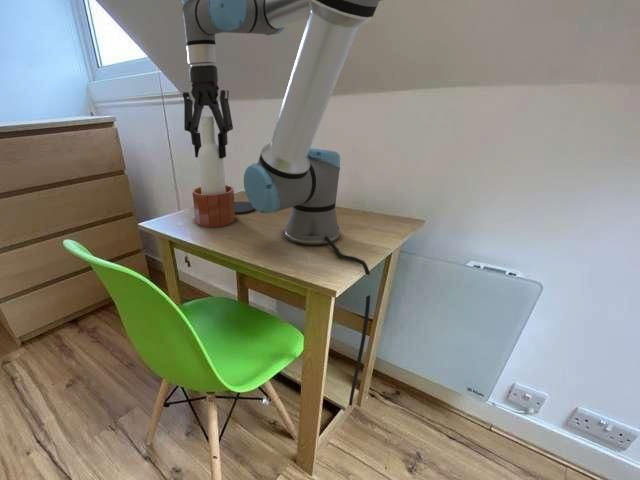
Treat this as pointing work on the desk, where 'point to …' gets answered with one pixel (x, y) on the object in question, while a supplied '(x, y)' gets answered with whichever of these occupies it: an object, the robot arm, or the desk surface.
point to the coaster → (243, 207)
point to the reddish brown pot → (214, 208)
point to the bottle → (210, 161)
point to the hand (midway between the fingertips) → (210, 156)
